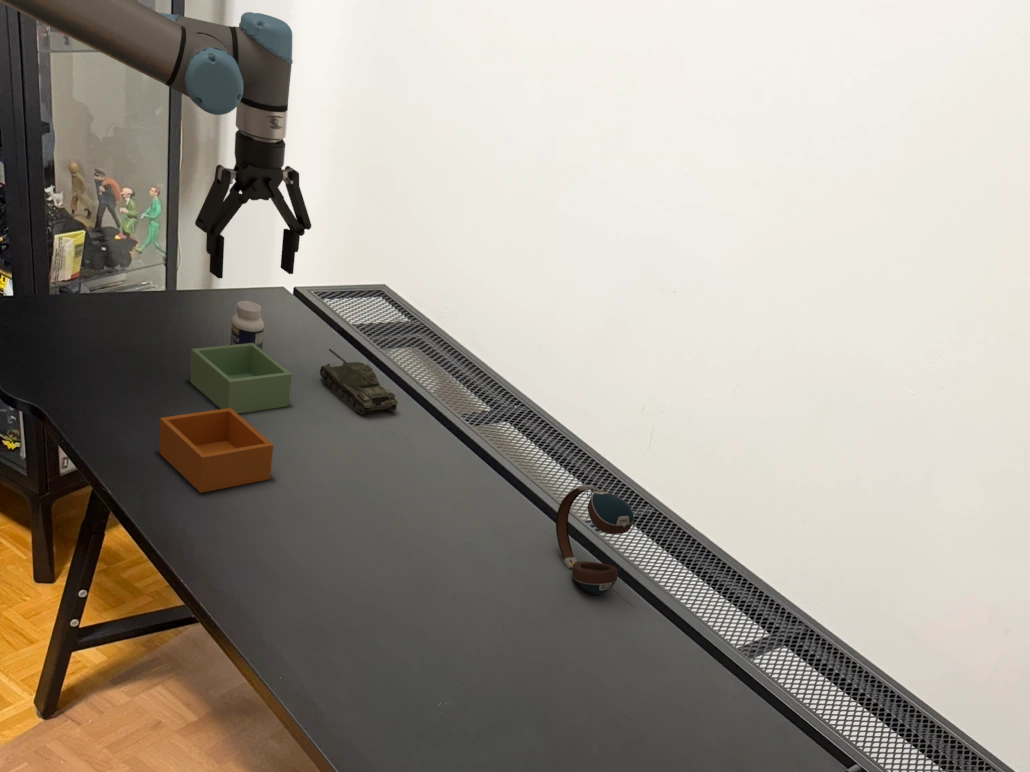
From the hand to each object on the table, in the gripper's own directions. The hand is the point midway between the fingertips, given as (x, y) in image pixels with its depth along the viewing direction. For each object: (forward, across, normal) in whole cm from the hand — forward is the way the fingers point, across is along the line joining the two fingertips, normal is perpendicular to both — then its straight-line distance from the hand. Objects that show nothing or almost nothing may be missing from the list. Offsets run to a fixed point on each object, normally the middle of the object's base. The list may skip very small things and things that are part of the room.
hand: (252, 273), depth 171 cm
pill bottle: (+16, 0, 0) cm, 16 cm away
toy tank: (+16, +12, -16) cm, 25 cm away
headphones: (+16, +10, -78) cm, 80 cm away
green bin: (+15, -8, -11) cm, 21 cm away
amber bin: (+15, -24, -30) cm, 41 cm away
